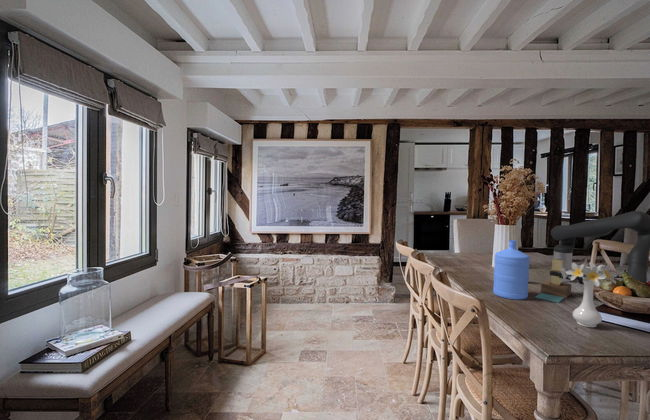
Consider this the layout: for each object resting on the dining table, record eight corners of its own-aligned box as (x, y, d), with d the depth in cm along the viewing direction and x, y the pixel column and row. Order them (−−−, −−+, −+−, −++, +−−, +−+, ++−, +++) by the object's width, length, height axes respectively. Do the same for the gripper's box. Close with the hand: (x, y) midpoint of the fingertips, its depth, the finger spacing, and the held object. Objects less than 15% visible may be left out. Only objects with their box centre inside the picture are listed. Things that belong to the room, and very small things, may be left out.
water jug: (533, 301, 166) (535, 243, 164) (497, 298, 169) (500, 242, 168) (521, 292, 181) (523, 239, 180) (489, 289, 184) (491, 238, 183)
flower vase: (554, 315, 147) (557, 257, 145) (608, 323, 139) (612, 261, 138) (560, 326, 135) (563, 263, 133) (620, 335, 127) (624, 268, 126)
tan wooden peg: (552, 292, 182) (554, 258, 181) (561, 293, 179) (563, 259, 178) (550, 293, 180) (552, 259, 179) (559, 295, 177) (561, 260, 176)
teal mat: (541, 294, 178) (541, 292, 178) (564, 298, 171) (564, 297, 171) (535, 297, 171) (535, 296, 171) (558, 302, 164) (559, 301, 164)
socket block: (546, 289, 187) (547, 280, 187) (570, 293, 179) (571, 284, 179) (540, 293, 180) (541, 283, 179) (565, 298, 172) (566, 288, 171)
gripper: (594, 268, 173) (555, 263, 185) (588, 272, 163) (548, 266, 175) (593, 283, 174) (555, 276, 186) (588, 288, 164) (547, 281, 176)
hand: (551, 272), depth 181 cm, fingers open, 7 cm apart
